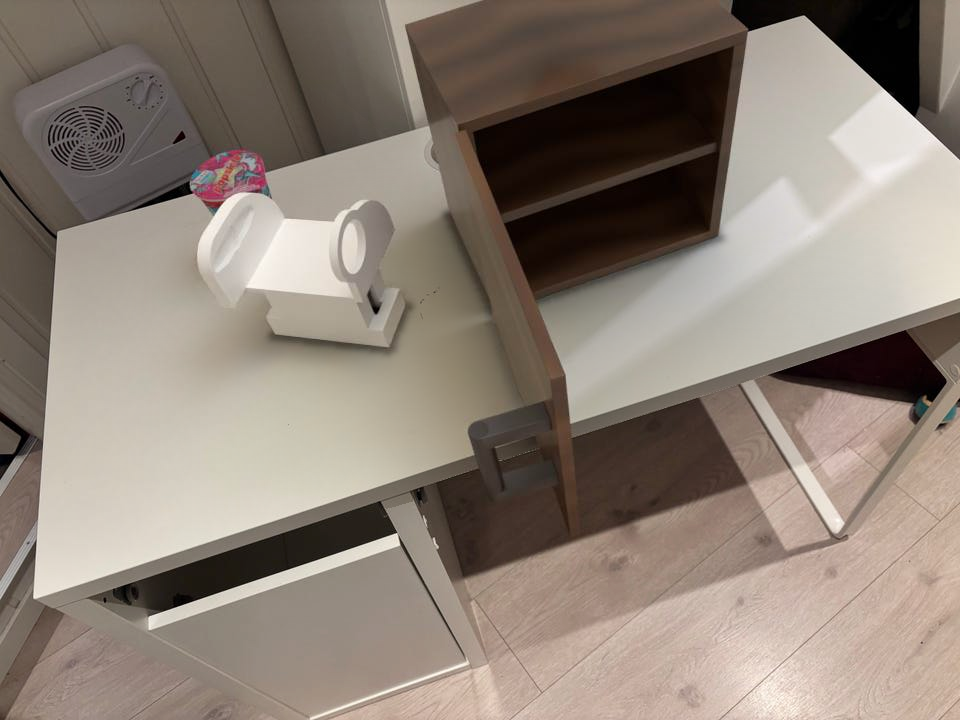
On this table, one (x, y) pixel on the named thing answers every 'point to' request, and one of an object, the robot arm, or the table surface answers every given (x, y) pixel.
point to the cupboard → (585, 125)
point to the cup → (229, 178)
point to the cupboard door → (519, 365)
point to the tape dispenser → (305, 268)
